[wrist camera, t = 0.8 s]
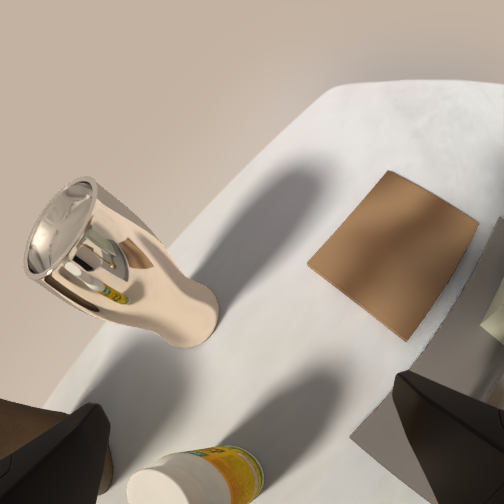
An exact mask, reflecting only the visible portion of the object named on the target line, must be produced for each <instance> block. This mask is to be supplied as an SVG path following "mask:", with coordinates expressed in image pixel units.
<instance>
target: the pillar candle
mask: <svg viewBox="0 0 504 504" xmlns="http://www.w3.org/2000/svg"><path fill="white" fill-rule="evenodd" d="M69 415H70V414H66V413H63V412H57V411H51V410H45V409H40V408H35V407H31V406H27V405H23V404H19V403H15V402H11V401H7V400H3V399H0V460H1V459H3V458H4V457H6V456H8V455H9V454H11V453H13V452H14V451H16V450H17V449H19V448H20V447H22V446H23V445H25V444H26V443H28V442H30V441H31V440H33V439H34V438H36V437H37V436H39V435H40V434H42V433H43V432H45V431H46V430H48V429H49V428H51V427H52V426H54V425H56V424H57V423H59V422H60V421H62V420H63V419H65V418H66V417H68V416H69ZM112 469H113V467H112V460H111V456H110V451H109V448H108V447H107V454H106V461H105V467H104V471H103V475H102V479H101V483H100V487H99V492H98V495H101V494H103V493H104V492H105V491H106V490H107V489H108V488H109V486H110V483H111V480H112V471H113V470H112Z"/></svg>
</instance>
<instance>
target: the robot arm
mask: <svg viewBox="0 0 504 504" xmlns="http://www.w3.org/2000/svg"><path fill="white" fill-rule="evenodd" d="M392 398H393V402H394V404H395V407H396V410H397V412H398V415H399V418H400V421H401V423H402V426H403V429H404V432H405V434H406V437H407V439H408V441H409V444H410V446H411V448H412V450H413V452H414V454H415V456H416V458H417V460H418V462H419V464H420V466H421V468H422V470H423V472H424V474H425V476H426V478H427V480H428V483H429V485H430V487H431V489H432V491H433V493H434V495H435V498H436V500H437V502H438V504H504V410H502V409H500V408H499V409H498V408H497V407H494V406H492V405H489V404H487V403H485V402H482V401H480V400H477V399H475V398H472V397H470V396H468V395H465V394H463V393H460V392H458V391H456V390H453V389H451V388H449V387H446V386H444V385H442V384H440V383H437V382H435V381H433V380H430V379H428V378H426V377H424V376H421V375H419V374H417V373H415V372H412V371H410V370H406V371H403V372H400V373H398V374H397V375H396V377H395V381H394V386H393V391H392ZM109 434H110V422H109V420H108V418H107V416H106V414H105V412H104V410H103V408H102V406H101V405H100V404H97V403H87V404H85V405H84V406H82V407H81V408H79V409H78V410H76V411H75V412H73V413H72V414H70V415H69V416H68V417H66V418H65V419H63V420H62V421H60V422H59V423H57V424H56V425H54V426H52V427H51V428H49V429H48V430H46V431H45V432H43V433H42V434H40V435H39V436H37V437H36V438H34V439H33V440H31V441H30V442H28V443H26V444H25V445H23V446H22V447H20V448H19V449H17V450H16V451H14V452H13V453H11V454H9V455H8V456H6V457H4V458H3V459H1V460H0V504H96V500H97V496H98V492H99V487H100V483H101V479H102V475H103V471H104V467H105V461H106V454H107V447H108V441H109Z"/></svg>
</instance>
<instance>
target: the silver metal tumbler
mask: <svg viewBox="0 0 504 504" xmlns="http://www.w3.org/2000/svg"><path fill="white" fill-rule="evenodd" d="M24 270H25V273H26V275H27V276H28V277H29V278H30V279H32V280H34V281H35V282H37V283H38V284H40V285H41V286H43V287H44V288H45V289H47V290H48V291H49V292H51V293H52V294H54V295H55V296H57V297H58V298H60V299H61V300H63V301H64V302H66V303H68V304H69V305H71V306H73V307H75V308H77V309H79V310H80V311H82V312H85V313H87V314H89V315H91V316H94V317H96V318H98V319H102V320H105V321H108V322H112V323H116V324H120V325H125V326H130V327H135V328H140V329H145V330H149V331H152V332H155V333H157V334H158V335H160V336H161V337H162V338H163V339H164V340H165V341H167V342H168V343H169V344H171V345H173V346H175V347H178V348H185V349H186V348H192V347H195V346H198V345H200V344H201V343H203V342H204V341H205V340H206V339H207V338H208V337H209V336H210V335H211V334H212V332H213V330H214V329H215V327H216V324H217V321H218V316H219V306H218V302H217V299H216V297H215V295H214V293H213V292H212V291H211V290H210V289H209V288H208V287H206V286H204V285H202V284H200V283H198V282H195V281H193V280H191V279H189V278H188V277H187V276H186V275H185V274H184V273H183V272H182V271H181V270H180V268H179V267H178V266H177V264H176V263H175V261H174V260H173V259H172V257H171V256H170V254H169V253H168V252H167V250H166V249H165V247H164V246H163V245H162V243H161V242H160V241H159V240H158V238H157V237H156V236H155V234H154V233H153V232H152V231H151V230H150V229H149V228H148V227H147V226H146V225H145V223H143V221H141V219H140V218H139V217H138V216H136V215H135V214H134V213H133V212H132V211H131V210H129V208H128V207H126V206H125V205H124V204H123V203H122V202H120V201H119V200H118V199H117V198H115V197H114V196H113V195H112V194H110V193H109V192H108V191H107V190H105V189H104V188H103V187H102V186H100V185H99V184H98V183H97V182H96V181H95V180H94V179H93V178H92V177H88V176H84V177H80V178H78V179H75V180H74V181H72V182H70V183H69V184H67V185H66V186H64V187H63V188H62V189H61V190H60V191H59V192H58V193H57V194H56V195H55V196H54V197H53V198H52V199H51V200H50V202H49V203H48V204H47V205H46V207H45V208H44V210H43V211H42V212H41V214H40V215H39V217H38V219H37V221H36V223H35V224H34V226H33V228H32V230H31V233H30V235H29V238H28V241H27V244H26V248H25V253H24Z"/></svg>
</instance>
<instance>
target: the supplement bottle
mask: <svg viewBox="0 0 504 504" xmlns="http://www.w3.org/2000/svg"><path fill="white" fill-rule="evenodd" d="M263 484H264V473H263V469H262V467H261V465H260V463H259V461H258V460H257V459H256V458H255V456H254V455H252V454H251V453H249V452H248V451H246V450H244V449H242V448H240V447H236V446H232V445H222V446H216V447H211V448H206V449H200V450H193V451H187V452H180V453H173V454H169V455H166V456H164V457H162V458H160V459H159V460H158V461H156V462H155V463H154V464H153V466H152V467H151V468H146V469H142V470H139V471H137V472H136V473H134V474H133V475H132V476H131V478H130V479H129V482H128V484H127V499H128V502H129V504H249V503H250V502H252V501H253V500H254V499H255V498H256V497H257V496H258V495H259V493H260V492H261V490H262V487H263Z"/></svg>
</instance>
